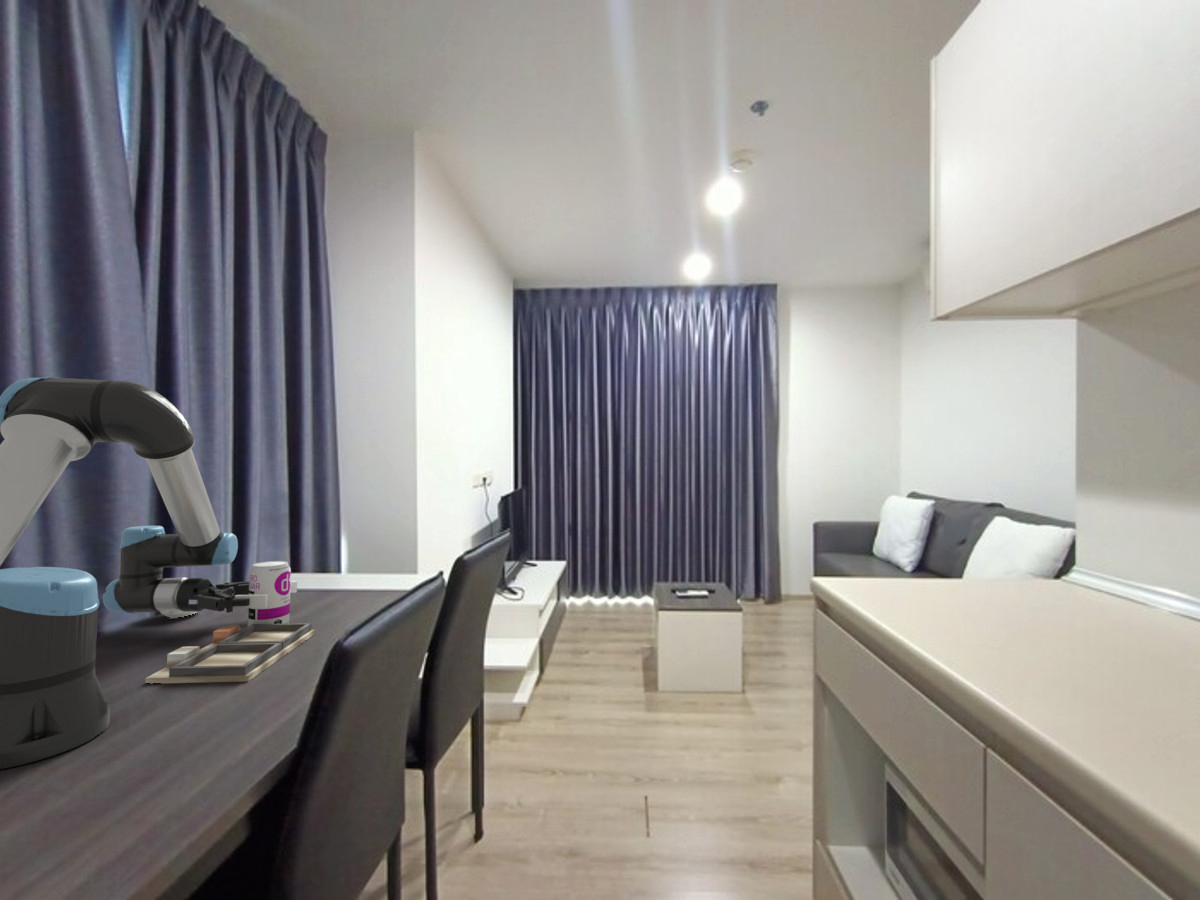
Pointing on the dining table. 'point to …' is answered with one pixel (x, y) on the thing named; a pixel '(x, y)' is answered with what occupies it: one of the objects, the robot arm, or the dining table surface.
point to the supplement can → (270, 592)
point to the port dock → (233, 654)
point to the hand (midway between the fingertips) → (282, 593)
